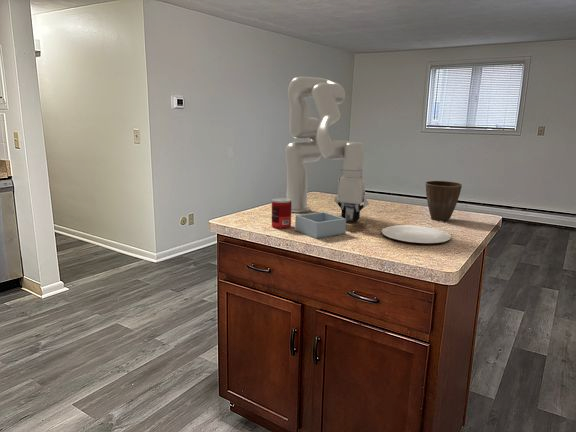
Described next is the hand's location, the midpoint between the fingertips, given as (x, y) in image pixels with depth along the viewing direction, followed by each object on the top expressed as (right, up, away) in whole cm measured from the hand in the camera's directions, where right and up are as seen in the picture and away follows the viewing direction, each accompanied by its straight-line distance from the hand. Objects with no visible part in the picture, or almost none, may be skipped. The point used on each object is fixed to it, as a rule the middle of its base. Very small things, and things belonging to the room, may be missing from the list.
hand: (350, 219), depth 177 cm
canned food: (-27, -3, +1) cm, 28 cm away
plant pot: (+42, 0, +18) cm, 46 cm away
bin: (-13, -5, -7) cm, 15 cm away
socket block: (0, -3, +1) cm, 3 cm away
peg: (0, -3, +1) cm, 3 cm away
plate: (+23, -7, -10) cm, 26 cm away
